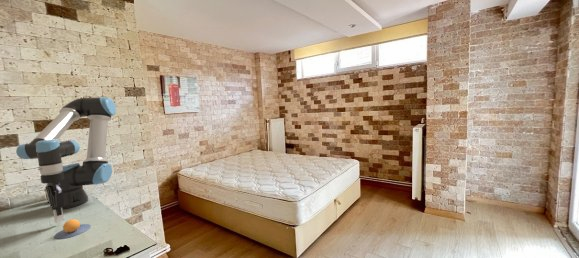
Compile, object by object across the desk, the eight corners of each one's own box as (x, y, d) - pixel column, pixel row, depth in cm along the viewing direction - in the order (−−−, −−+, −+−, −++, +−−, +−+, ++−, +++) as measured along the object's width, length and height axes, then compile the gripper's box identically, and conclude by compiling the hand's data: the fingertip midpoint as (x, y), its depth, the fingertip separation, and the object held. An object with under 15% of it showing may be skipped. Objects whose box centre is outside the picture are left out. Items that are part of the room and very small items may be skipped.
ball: (69, 231, 105) (66, 219, 104) (83, 227, 106) (81, 216, 106) (61, 236, 99) (58, 224, 99) (76, 232, 101) (74, 220, 101)
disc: (64, 227, 107) (64, 227, 107) (95, 222, 111) (95, 222, 111) (46, 241, 96) (46, 241, 96) (82, 235, 99) (82, 235, 99)
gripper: (35, 173, 107) (42, 222, 109) (46, 176, 101) (54, 228, 103) (57, 169, 114) (63, 215, 116) (68, 172, 108) (75, 220, 110)
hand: (59, 221), depth 110 cm, fingers closed
